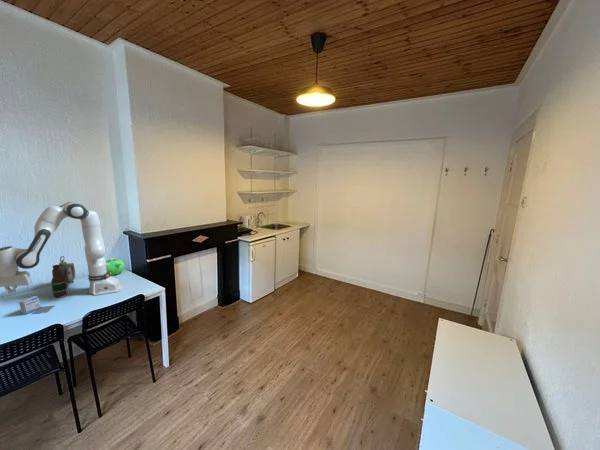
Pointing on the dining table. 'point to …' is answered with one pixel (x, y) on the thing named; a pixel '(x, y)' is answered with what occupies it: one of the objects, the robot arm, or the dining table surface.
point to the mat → (43, 309)
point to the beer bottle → (58, 283)
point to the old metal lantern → (66, 271)
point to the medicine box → (29, 305)
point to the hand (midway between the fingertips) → (11, 292)
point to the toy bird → (114, 266)
